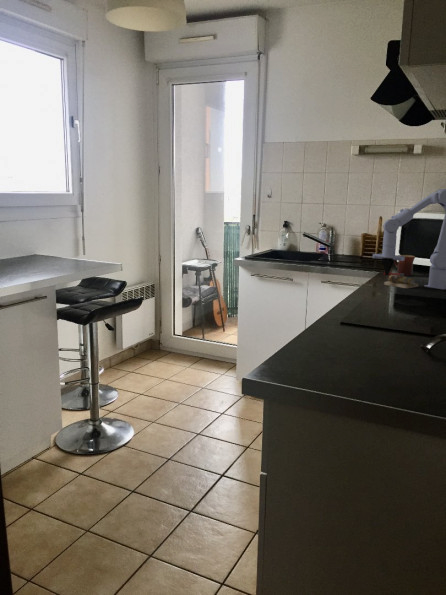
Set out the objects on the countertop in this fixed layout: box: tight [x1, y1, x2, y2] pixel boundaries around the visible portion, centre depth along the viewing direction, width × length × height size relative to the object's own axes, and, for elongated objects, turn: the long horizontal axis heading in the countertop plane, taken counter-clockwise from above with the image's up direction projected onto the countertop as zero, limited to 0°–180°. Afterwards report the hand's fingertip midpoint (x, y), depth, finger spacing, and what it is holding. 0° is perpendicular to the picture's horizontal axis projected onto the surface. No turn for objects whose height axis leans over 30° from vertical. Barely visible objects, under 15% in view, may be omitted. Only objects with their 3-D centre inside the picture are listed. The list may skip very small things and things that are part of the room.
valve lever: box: [383, 271, 405, 277], centre depth 232 cm, size 9×2×1 cm, turn 65°
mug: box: [394, 254, 416, 277], centre depth 263 cm, size 12×9×10 cm
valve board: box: [383, 275, 419, 289], centre depth 231 cm, size 12×9×4 cm
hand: (386, 274), depth 232 cm, fingers closed, pressing on valve lever
